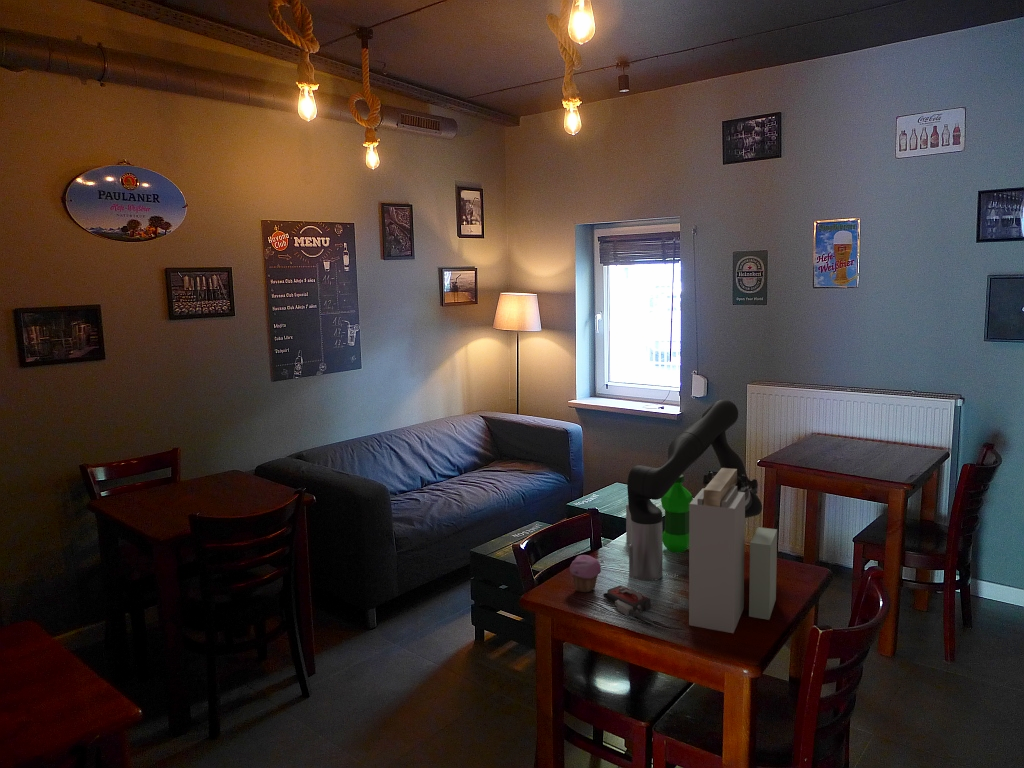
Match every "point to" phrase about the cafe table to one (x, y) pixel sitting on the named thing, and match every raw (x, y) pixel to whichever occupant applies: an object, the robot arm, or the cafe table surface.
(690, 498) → the plastic bottle
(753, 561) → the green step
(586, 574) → the cupcake
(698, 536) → the grey stand
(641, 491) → the robot arm
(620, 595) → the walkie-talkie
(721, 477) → the birch bar
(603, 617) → the cafe table surface
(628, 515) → the small box
